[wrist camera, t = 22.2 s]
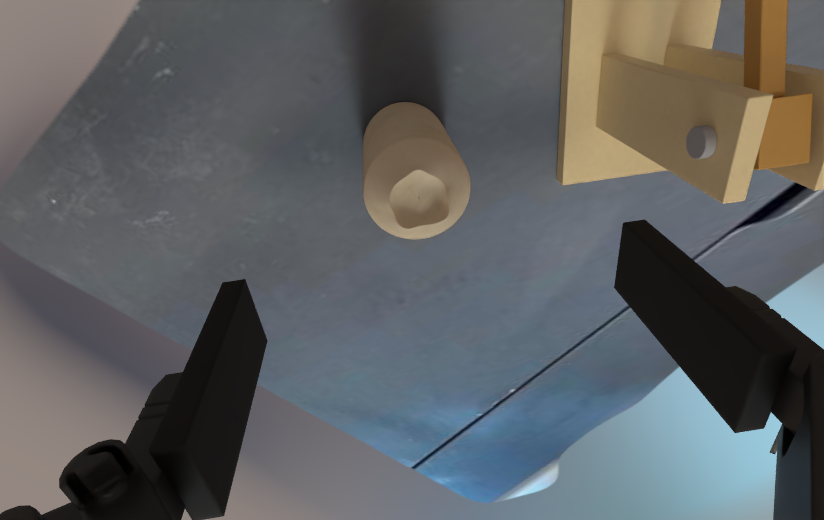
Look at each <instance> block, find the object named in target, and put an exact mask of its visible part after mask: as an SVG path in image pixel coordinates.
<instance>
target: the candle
mask: <svg viewBox="0 0 824 520" xmlns="http://www.w3.org/2000/svg"><path fill="white" fill-rule="evenodd" d="M470 189H471V186H470V177H469V173H468V170H467V167H466V165H465V163H464V162H463V160H462V158H461V156H460V155H459V153H458V151H457V149H456V148H455V146H454V144H453V142H452V141H451V139H450V137H449V135H448V134H447V132H446V130H445V129H444V127H443V125H442V124H441V122H440V121H439V119H438V118H437V117H436V116H435V114H434V113H432V112H431V111H430V110H429V109H427V108H426V107H424V106H421V105H419V104H416V103H411V102H399V103H394V104H391V105H389V106H386V107H385V108H383V109H381V110H380V111H379V112H378V113H377V114H376V115H375V116H374V117H373V118H372V119H371V121H370V122H369V124H368V126H367V128H366V130H365V134H364V139H363V195H364V202H365V205H366V208H367V210H368V212H369V214H370V216H371V217H372V219H373V220H374V221H375V222H376V223H377V224H378V225H379V226H380V227H381V228H382V229H384V230H385V231H387V232H388V233H390V234H392V235H395V236H398V237H401V238H405V239H424V238H428V237H432V236H435V235H438V234H440V233H442V232H443V231H445V230H447V229H448V228H450V227H451V226H452V225H453V224H454V223H455V222H456V221H457V220H458V219H459V218H460V216H461V215H462V213H463V212H464V210H465V208H466V206H467V203H468V200H469V196H470Z"/></svg>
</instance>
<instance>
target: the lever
mask: <svg viewBox="0 0 824 520" xmlns="http://www.w3.org/2000/svg"><path fill="white" fill-rule="evenodd" d="M787 13H788V0H745V29H744V87H747V88H751V89H754V90H758V91H762V92H766V93H769V94H773V99H772V103H771V106H770V110H769V114H768V117H767V121H766V125H765V128H764V132H763V136H762V140H761V143H760V147H759V151H758V154H757V158H756V162H755V165H754V169H753V170H762V169H769V168H776V167H783V166H789V165H796V164H803V163H808V162H809V161H810V139H811V117H812V95H813V94H812V93H806V94H799V95H792V96H785V97H783V96H784V95H785V74H786V44H787Z"/></svg>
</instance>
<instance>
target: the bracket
mask: <svg viewBox="0 0 824 520" xmlns="http://www.w3.org/2000/svg"><path fill="white" fill-rule="evenodd" d="M720 5H721V0H565V11H564V33H563V54H562V76H561V97H560V118H559V140H558V161H557V180H558V181H559V182H560V183H561V184H562V185H568V184H575V183H582V182H589V181H596V180H603V179H609V178H616V177H623V176H630V175H637V174H644V173H651V172H658V171H665V170H668V171H670V172H671V173H673V174H675V175H676V176H678V177H680V178H681V179H683V180H685V181H686V182H688V183H690V184H691V185H693V186H695V187H696V188H698V189H700V190H701V191H703V192H704V193H706V194H708V195H709V196H711V197H713V198H714V199H716V200H718V201H719V202H721V203H723V204H724V203H731V202H738V201H744V200H745V198H746V195H747V191H748V187H749V184H750V180H751V176H752V173H753V169H754V165H755V162H756V158H757V154H758V151H759V147H760V143H761V140H762V136H763V132H764V128H765V125H766V121H767V117H768V114H769V110H770V106H771V103H772V99H773V94H769V93H766V92H762V91H758V90H754V89H751V88H747V87H744V55H739V54H734V53H728V52H723V51H717V50H712V45H713V40H714V35H715V30H716V25H717V20H718V15H719V10H720ZM806 93H812V94H813V95H812V117H811V139H810V161H809V162H808V163H803V164H796V165H789V166H783V167H776V168H769V169H768V170H770V171H772V172H775V173H777V174H779V175H781V176H784V177H786V178H788V179H790V180H792V181H795V182H797V183H799V184H801V185H803V186H806V187H808V188H810V189H812V190H822V189H824V70H820V69H815V68H810V67H804V66H799V65H793V64H788V63H786V74H785V95H784V96H783V97H785V96H792V95H799V94H806Z"/></svg>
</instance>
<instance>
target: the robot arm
mask: <svg viewBox="0 0 824 520" xmlns="http://www.w3.org/2000/svg"><path fill="white" fill-rule="evenodd" d="M614 288H615V289H616V290H617V292H618V293H619V294H620V295H621V296H622V298H623V299H624V300H625V301H626V302H627V304H628V305H629V306H630V307H631V308H632V310H633V311H634V312H635V313H636V314H637V316H638V317H639V318H640V319H641V320H642V322H643V323H644V324H645V325H646V326H647V328H648V329H649V330H650V331H651V333H652V334H653V335H654V336H655V337H656V339H657V340H658V341H659V342H660V343H661V345H662V346H663V347H664V348H665V349H666V351H667V352H668V353H669V354H670V355H671V357H672V358H673V359H674V360H675V361H676V363H677V364H678V365H679V366H680V367H681V369H682V370H683V371H684V372H685V373H686V374H687V376H688V377H689V378H690V379H691V380H692V382H693V383H694V384H695V385H696V387H697V388H698V389H699V390H700V391H701V393H702V394H703V395H704V396H705V397H706V399H707V400H708V401H709V402H710V403H711V405H712V406H713V407H714V408H715V410H716V411H717V412H718V413H719V414H720V416H721V417H722V418H723V419H724V420H725V422H726V423H727V424H728V425H729V426H730V428H731V429H732V430H733V431H734V432H735V433H738V432H744V431H751V430H757V429H763V428H764V427H765V425H766V422H767V420H768V417H769V415H770V413H771V412H772V413H773V414H774V415H775V416H776V417H777V419H779V421H780V422H781V423H782V426H781V428H780V430H779V432H778V435H777V437H776V439H775V441H774V444H773V446H772V448H771V451H770V453H773V454H775V453H776V451H777V464H776V481H775V499H774V518H773V520H824V349H822V348H821V347H820V346H819V345H817V344H816V343H815V342H813V341H812V340H811V339H810V338H808V337H807V336H806V335H805V334H803V333H802V332H801V331H800V330H798V329H797V328H796V327H795V326H793V325H792V324H791V323H790V322H788V321H787V320H786V319H785V318H781V315H780V314H778V313H777V312H776V311H774V310H773V309H770V308H769V306H768V305H767V304H766V303H764V302H763V301H762V300H761V299H759V298H758V297H757V296H756V295H754V294H752V293H750V292H747V291H745V290H743V289H741V288H739V287H737V286H733V287H724V286H723V285H722V284H721V283H720V282H718V281H717V280H716V279H715V278H714V277H712V276H711V275H710V274H709V273H708V272H707V271H705V270H704V269H703V268H702V267H701V266H699V265H698V264H697V263H696V262H695V261H693V260H692V259H691V258H690V257H689V256H687V255H686V254H685V253H684V252H683V251H682V250H680V249H679V248H678V247H677V246H676V245H674V244H673V243H672V242H671V241H670V240H668V239H667V238H666V237H665V236H664V235H662V234H661V233H660V232H659V231H658V230H656V229H655V228H654V227H653V226H652V225H651V224H649V223H648V222H647V221H646V220H639V221H632V222H625V223H623V227H622V235H621V242H620V249H619V257H618V264H617V271H616V279H615V286H614ZM266 344H267V338H266V336H265V333H264V330H263V327H262V324H261V322H260V319H259V316H258V313H257V311H256V308H255V305H254V302H253V299H252V297H251V294H250V291H249V288H248V286H247V283H246V280H245V279H243V280H237V281H230V282H223V283H222V285H221V287H220V290H219V292H218V294H217V297H216V299H215V301H214V303H213V306H212V308H211V310H210V312H209V315H208V317H207V319H206V321H205V324H204V326H203V328H202V330H201V333H200V335H199V337H198V339H197V342H196V344H195V346H194V349H193V351H192V353H191V355H190V358H189V360H188V362H187V364H186V367H185V369H184V371H183V372H182V373H175V374H168V375H166V376H165V377H164V378H163V379H162V380H161V381H160V382H159V383H158V384H157V385H156V386H155V387H154V388H153V389H152V391H151V393H150V395H149V397H148V399H147V401H146V403H145V408H143V409H142V411H141V413H140V415H139V417H138V418H139V420H138V421H136V423H135V425H134V427H133V429H132V431H131V433H130V435H129V437H128V439H127V441H126V443H125V444H124V443H123V442H122V441H120V440H106V441H102V442H98V443H96V444H94V445H92V446H90V447H88V448H86V449H84V450H83V451H82V452H80V453H79V454H78V455H77V456H75V457H74V458H73V459H72V460H71V461H70V462H69V464H68V465H67V466H66V467H65V468H64V470H63V472H62V474H61V477H60V479H59V486H60V489H61V490H62V491H63V492H64V494H65V495H66V496H67V497H68V498H69V499H70V501H71V503H68V504H66V505H64V506H61V507H59V508H57V509H54V510H52V511H50V512H47V513H45V514H43V515H41V514H40V513H39V512H38V511H37V510H36V509H35V508H33V507H31V506H17V507H14V508H12V509H9V510H6V511H4V512H2V513H1V514H0V520H181V518H182V515H183V512H184V509H186V511H187V512H188V514H189V515H190V517H191V518H192V520H203V519H209V518H215V517H221V516H224V513H225V509H226V506H227V502H228V498H229V494H230V490H231V486H232V481H233V477H234V473H235V469H236V465H237V461H238V457H239V453H240V449H241V445H242V441H243V437H244V433H245V429H246V425H247V421H248V417H249V413H250V409H251V405H252V401H253V397H254V393H255V389H256V385H257V381H258V377H259V373H260V369H261V365H262V360H263V356H264V352H265V348H266Z"/></svg>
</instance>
